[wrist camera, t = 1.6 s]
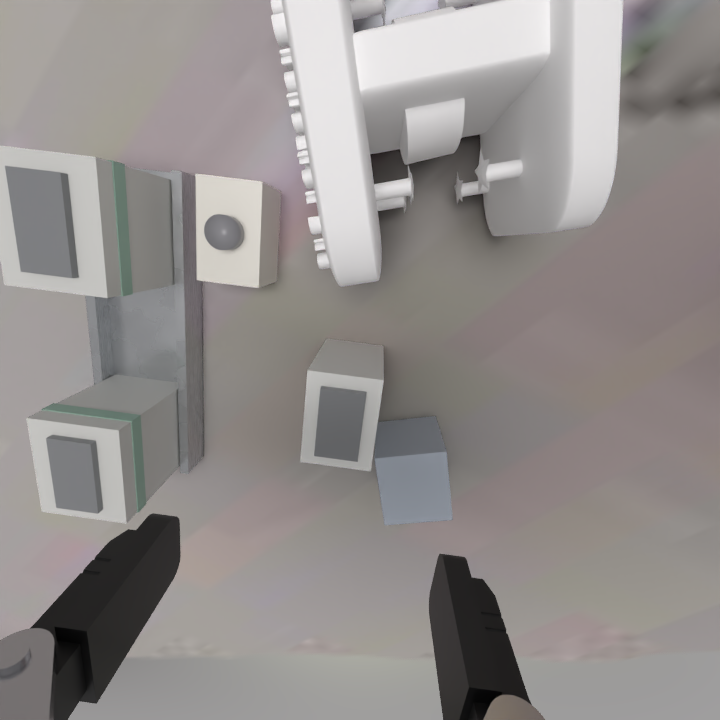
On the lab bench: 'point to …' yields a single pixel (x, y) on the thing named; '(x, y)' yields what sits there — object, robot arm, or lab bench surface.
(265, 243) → the sensor block
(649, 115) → the lab bench surface
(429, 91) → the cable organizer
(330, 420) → the block
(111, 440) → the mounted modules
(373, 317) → the lab bench surface
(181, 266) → the rail
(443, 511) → the block
